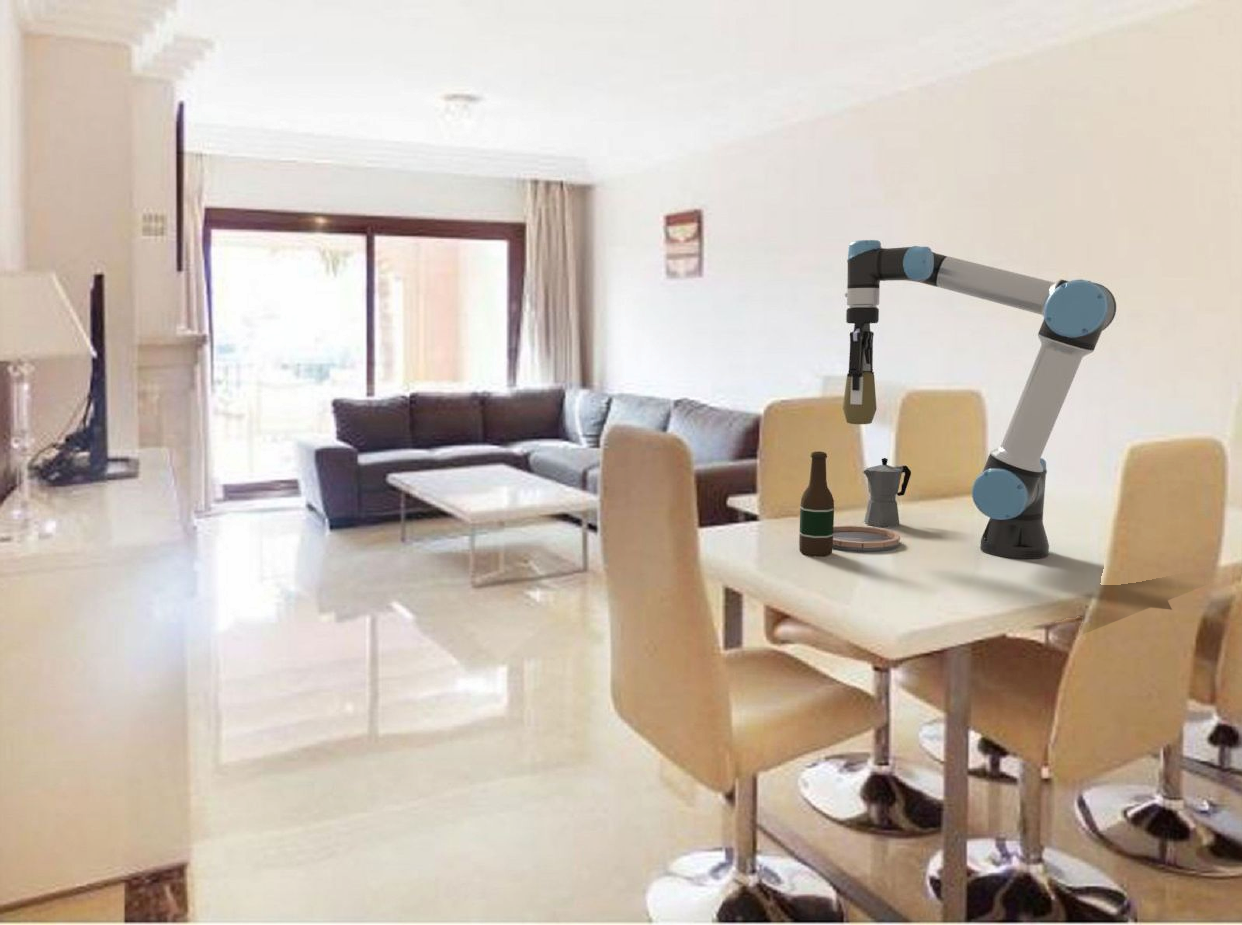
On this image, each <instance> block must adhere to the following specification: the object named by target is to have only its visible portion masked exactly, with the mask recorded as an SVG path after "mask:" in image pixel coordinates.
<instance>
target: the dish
mask: <svg viewBox="0 0 1242 925" xmlns="http://www.w3.org/2000/svg"><path fill="white" fill-rule="evenodd" d="M900 540H901V534H899V533H897V532H896V531H893V530H890V529H885V528H882V527H875V526H869V525H867V526H866V525H849V524H848V525H833V548H832V550H834V549H835V550H838V549H839V551H846V552H858V553H859V552H860V553H871V552H872V553H873V552H874V553H879V552H887V551H892V550H894V549H897V548H898V547H899V546H900V542H901V541H900Z"/></svg>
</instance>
